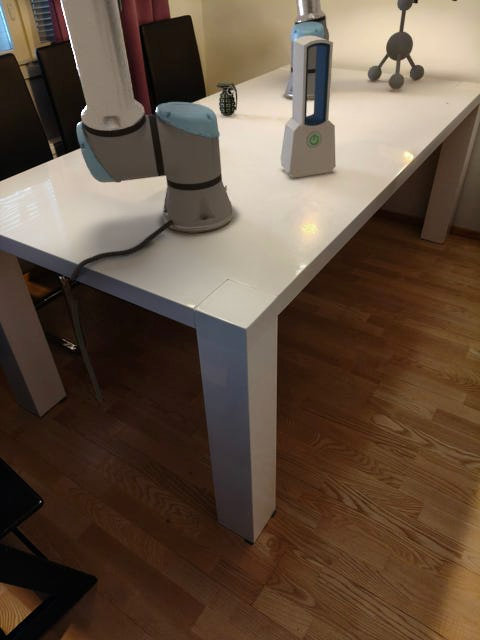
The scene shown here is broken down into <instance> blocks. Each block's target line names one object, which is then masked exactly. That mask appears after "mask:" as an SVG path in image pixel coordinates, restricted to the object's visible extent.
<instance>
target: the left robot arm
mask: <svg viewBox="0 0 480 640" xmlns="http://www.w3.org/2000/svg"><path fill="white" fill-rule="evenodd" d="M60 4H61V9H62V12H63V16H64V20H65V24H66V27H67V32H68V36H69V40H70V44H71V48H72V52H73V55H74V60H75V64H76V69H77V72H78V76H79V81H80V84H81V88H82V92H83V96H84V100H85V103H86V106H85V107H84V109H82V111H81V114H80V118H81V121H80V122H78V123H77V124H76V137H77V142H78V144H79V147H80V151H81V155H82V157H83V161H84V163H85V165H86V168H87V169H88V171H89V173H90V175H91V176H92V178H93V179H94V180H96V181H97V182H100V183H122V182H126V181H134V180H143V179H150V178H151V179H152V178H157V177H165V180H166V190H165V191H166V192H165V196H164V203H163V207H162V218H163V222H164V224H162V225H161V226H160V227H159V228H157V229H156V230H155V231H153V232H152V233H150V234H149V235H148V236H147V237H145V238H144V239H143V240H142V241H141V242H140V243H138V244H137V245H135V246H132V247H131V248H130V247H129V248H127V249H123V250H114V251H107V252H102V253H98V254H95V255H93V256H90V257H87V258H85V259H84V260H82V261H80V262H79V263H78V264H77V265H76V266H75V268H74V269H73V271H72V273H71V276H70V278H69V279H70V281H72V282H73V281H75V280H77V278H78V276H79V275H80V272H81V270H83V268H84V267H85V266H87V265H89V264H91V263H94V262H97V261H99V260H103V259H106V258H114V257H122V256H128V255H131V254H134V253H136V252H138V251H140V250H141V249H143V248H144V247H145V246H147V245H148V244H149V243H150V242H151V241H152V240H153V239H155V238H156V237H158V236H159V235H160V234H161V233H163V232H164V231H166V230H167V229H168V228H169V229H171V230H173V231H177V232H180V233H190V234H191V233H192V234H193V233H194V234H195V233H196V234H197V233H205V232H206V233H207V232H210V231H215V230H216V229H220V228H222V227H224V226H226V225H227V224H228V223H230V221H231V220H232V218H233V216H234V212H233V211H234V210H233V205H232V201H231V200H230V197H229V195H228V192H227V191H228V188H227V187H228V186H227V185H225V184H224V182H223V175H222V174H223V173H222V164H221V149H220V148H221V147H220V136H221V135H220V130H219V124H218V117H217V115H216V113H215V111H214V110H213V109H212V108H210V107H209V106H206V105H203V104H199V103H195V102H186V101H168V102H163V103H160V104H158V105H157V106H156V109H155V114H146V112H145V111H146V110H145V108H144V106H143V104H142V103H140V101H137V99H135V95H134V90H133V84H132V79H131V73H130V68H129V67H130V66H129V60H128V55H127V49H126V44H125V37H124V31H123V27H122V20H121V15H120V12H121V11H122V10H123V4H122V0H60ZM70 305H71V313H72V319H73V325H74V330H75V334H76V338H77V342H78V346H79V349H80V352H81V354H82V358H83V361H84V364H85V366H86V369H87V371H88V374H89V377H90V380H91V382H92V386H93V388H94V391H95V395H96V399H97V401H98V402H102V401H103V400H104V399H103V396H102V392H101V390H100V386H99V383H98V380H97V377H96V374H95V371H94V369H93V366H92V364H91V360H90V357H89V355H88V352H87V349H86V346H85V345H86V344H85V342H84V338H83V334H82V330H81V325H80V319H79V311H78V303H77V300H75V299H72V298H71V299H70Z"/></svg>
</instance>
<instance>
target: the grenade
mask: <svg viewBox="0 0 480 640" xmlns="http://www.w3.org/2000/svg"><path fill="white" fill-rule="evenodd" d="M215 87H217V88H219V89H221V93H219V97H218V101H219V102H218V106H219V108H218V109H219V112H220V114H221V115H222V116H224V117H231V116H233V115H234V113H235V112H236V111H237V108H238V89H237V87H236V85H235V84H234V83H233V82H218V83H217V84H216V86H215ZM232 91H233V92H232ZM234 94H235V96H234Z"/></svg>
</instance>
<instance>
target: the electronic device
mask: <svg viewBox="0 0 480 640" xmlns="http://www.w3.org/2000/svg"><path fill="white" fill-rule="evenodd" d="M314 46H317V48H316V71H315V95H314V99H313V100H314V101H313V113H312V114H310V115H307V112H308V111H307V106H308V100H307V82H308V52H309V48H311V47H314ZM333 50H334V42H333V41H330V40H329V41H328V40H325V39H323V38H320V37H317V36H311V35H309V36H303V37H300V38H298V39H296V40H294V41H293V99H291V100H292V102H291V103H292V104H291V105H292V106H291V109H292V110H291V111H292V113H291V118H289V119H288V120H287V121H286V123H285V124H284V129H283V130H284V131H283V137H282V145H281V151H280V152H281V153H280V165H281V167H282V168H283V169H284V170H285V171H286V172H287V173H288V174H289V175H290V176H291V177H292V178H294V179H295V178H301V177H307V176H313V175H314V176H315V175H319V174H326V173H332V172H333V170H334V169H335V168H336V127H335V124H334V123H333V122H332V121H330V120H329V117H330V116H329V115H330V98H331V83H332V81H331V80H332V68H333V67H332V65H333V52H334V51H333Z"/></svg>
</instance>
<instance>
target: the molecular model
mask: <svg viewBox="0 0 480 640" xmlns="http://www.w3.org/2000/svg"><path fill="white" fill-rule="evenodd" d="M396 5H397V8H398V10H399V11H401V15H400V21H399V22H400V23H399V28H398V29H399V30H398V31H397V32H394V33H393V34H392V35H391V36H390V37H389V38H388V40H387V42H386V45H385V52H386V53H385V55H384V57H382V59H381V61H380V62H379V64H378V65H371V67H370V68H369V69H368V70H367V78H368V79H369V80H370V81H372V82H376V81H378V80H379V79H380V78H381V77H382V72H383V71H382V67H383V65H384V64H385V63H386V61H387V60H388V59H390V60H392V61H395V71H394V72H395V73H394V74H392V75H391V76H390V77H389V79H388V86H389V87H390V88H391V90H395V91H396V90H399V89H401V88H402V87H403V86H404V85H405V77H404V76H403V74H401V72H400V71H401V61H404V60H405V59H406V60H407V62H408V63H409V65H410V67H411V68H410V70H409V78H410V79H411V80H413V81H419V80H421V78H423V77H424V74H425V68H424V67H423V65H421V64H416V63H415V61H414V60H413V58H412V56H411V53H412V51H413V47H414V41H413V40H414V39H413V37H412V36H411V35H410V34H409V33H408V32H407V31H404V28H405V22H406V14H407V11H409V10H410V9H411V8H412V6H413V5H414V3H413V0H397V2H396Z"/></svg>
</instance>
